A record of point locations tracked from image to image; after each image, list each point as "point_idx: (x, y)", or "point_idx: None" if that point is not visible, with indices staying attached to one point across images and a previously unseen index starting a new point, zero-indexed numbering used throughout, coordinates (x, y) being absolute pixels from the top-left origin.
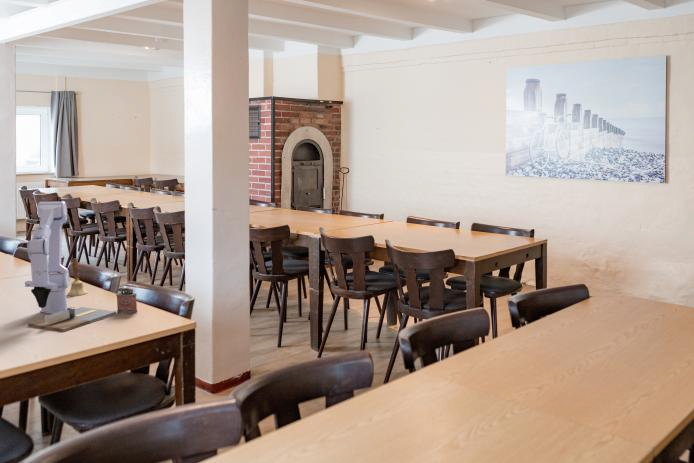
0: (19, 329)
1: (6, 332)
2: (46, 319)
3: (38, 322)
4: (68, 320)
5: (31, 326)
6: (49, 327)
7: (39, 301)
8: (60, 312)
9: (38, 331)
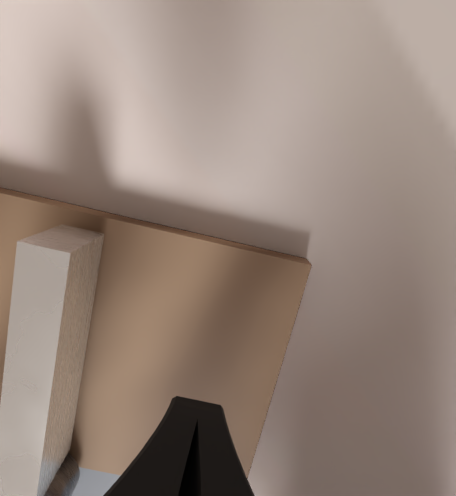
0: (326, 159)
1: (390, 45)
2: (60, 238)
3: (241, 312)
4: None
5: (269, 250)
6: (48, 202)
7: (176, 457)
8: (7, 414)
9: (113, 130)
